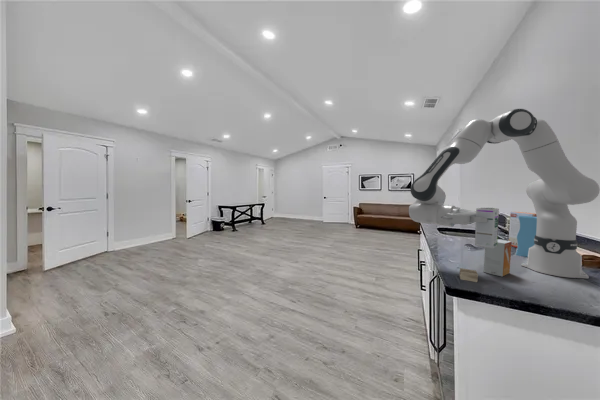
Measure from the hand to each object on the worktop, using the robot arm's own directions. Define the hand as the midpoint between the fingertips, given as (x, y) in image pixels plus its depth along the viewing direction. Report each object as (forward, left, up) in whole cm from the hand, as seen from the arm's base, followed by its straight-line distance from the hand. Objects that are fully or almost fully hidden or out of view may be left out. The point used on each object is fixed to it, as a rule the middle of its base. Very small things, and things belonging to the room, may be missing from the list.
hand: (490, 219), depth 88 cm
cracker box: (-76, +1, -22) cm, 79 cm away
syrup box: (0, -1, -11) cm, 11 cm away
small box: (-10, +1, -22) cm, 24 cm away
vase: (-57, +4, -22) cm, 61 cm away
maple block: (+7, -4, -22) cm, 24 cm away
